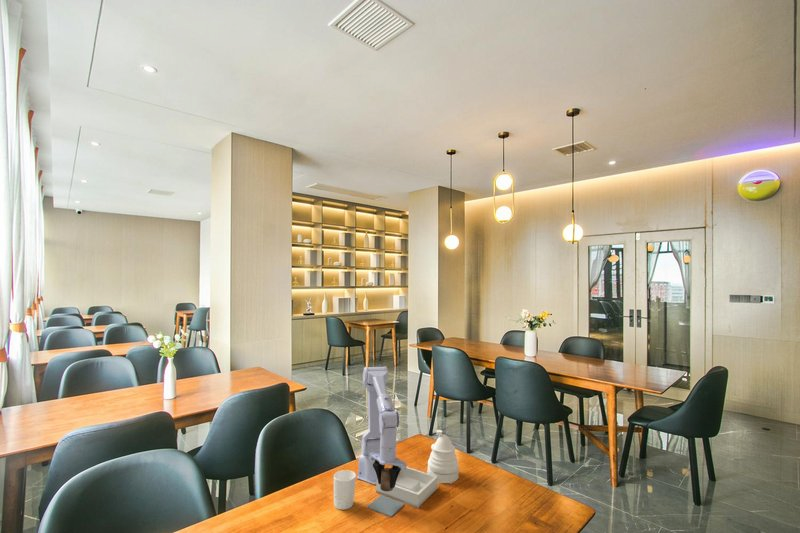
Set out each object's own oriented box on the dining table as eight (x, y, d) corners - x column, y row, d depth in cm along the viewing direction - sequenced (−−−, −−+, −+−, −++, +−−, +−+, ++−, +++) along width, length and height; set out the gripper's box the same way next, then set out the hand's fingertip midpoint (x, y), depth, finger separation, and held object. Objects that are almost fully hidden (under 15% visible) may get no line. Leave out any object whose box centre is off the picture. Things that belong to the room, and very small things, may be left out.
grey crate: (376, 492, 142) (376, 480, 142) (398, 475, 155) (398, 464, 156) (418, 508, 132) (418, 494, 133) (437, 488, 146) (437, 476, 146)
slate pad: (366, 507, 131) (366, 506, 131) (381, 496, 139) (381, 495, 139) (391, 517, 126) (391, 516, 126) (404, 504, 134) (404, 503, 134)
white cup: (358, 501, 135) (359, 472, 136) (348, 513, 128) (349, 482, 129) (338, 496, 138) (340, 468, 139) (328, 507, 131) (329, 478, 131)
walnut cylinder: (377, 488, 132) (378, 471, 133) (384, 483, 136) (385, 466, 137) (388, 492, 130) (389, 474, 131) (395, 487, 134) (396, 470, 134)
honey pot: (424, 481, 151) (426, 435, 153) (429, 466, 164) (431, 424, 165) (457, 486, 148) (458, 439, 150) (459, 471, 161) (460, 428, 162)
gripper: (364, 444, 134) (363, 483, 133) (399, 454, 127) (398, 496, 126) (376, 438, 140) (374, 475, 139) (409, 447, 133) (408, 487, 132)
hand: (386, 485), depth 133 cm, fingers closed on walnut cylinder, 4 cm apart
